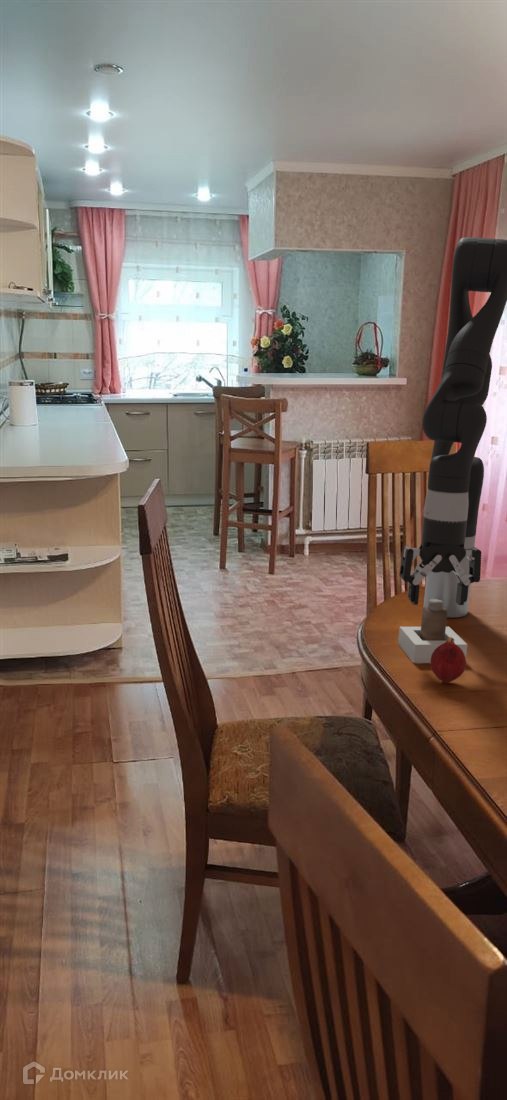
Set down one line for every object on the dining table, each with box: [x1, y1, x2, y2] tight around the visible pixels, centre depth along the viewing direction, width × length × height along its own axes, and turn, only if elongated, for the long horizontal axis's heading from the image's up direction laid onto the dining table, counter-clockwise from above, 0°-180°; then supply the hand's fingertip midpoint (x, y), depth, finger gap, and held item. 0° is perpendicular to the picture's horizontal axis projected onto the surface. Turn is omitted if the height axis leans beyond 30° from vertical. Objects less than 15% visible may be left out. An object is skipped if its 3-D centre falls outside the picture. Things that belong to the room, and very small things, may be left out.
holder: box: [397, 626, 468, 664], centre depth 154 cm, size 10×10×4 cm
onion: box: [430, 637, 467, 684], centre depth 140 cm, size 6×6×8 cm
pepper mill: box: [420, 599, 448, 641], centre depth 153 cm, size 4×4×10 cm
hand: (437, 604), depth 152 cm, fingers open, 8 cm apart
